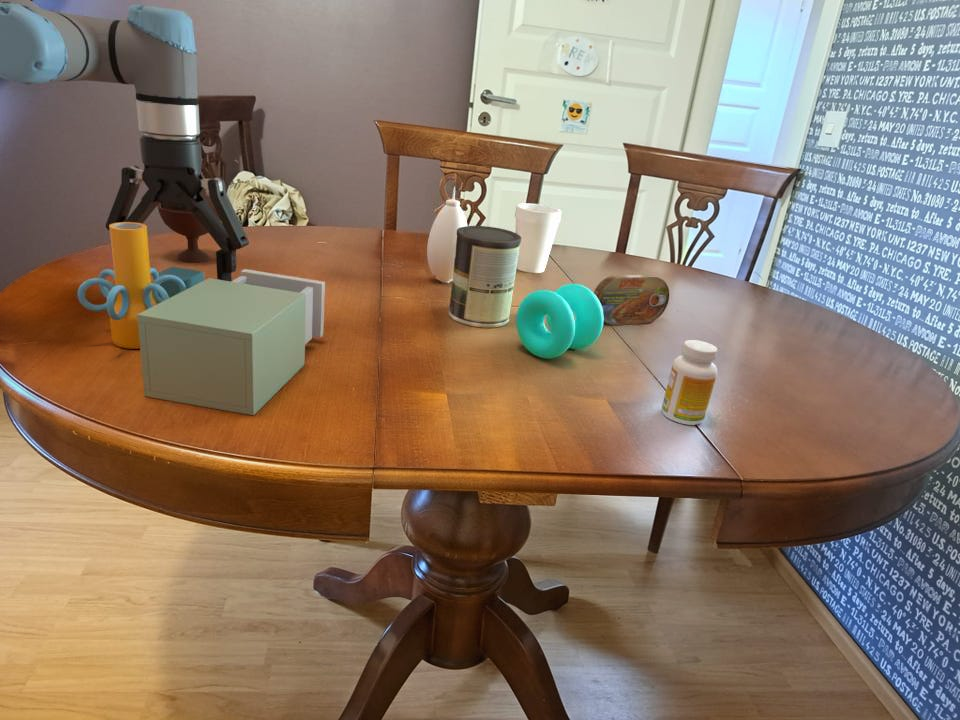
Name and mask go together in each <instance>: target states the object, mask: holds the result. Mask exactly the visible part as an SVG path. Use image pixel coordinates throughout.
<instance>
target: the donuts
mask: <svg viewBox="0 0 960 720" xmlns="http://www.w3.org/2000/svg"><path fill="white" fill-rule="evenodd" d="M545 320H546V324H545ZM604 323H605V322H604V316H603V309H602V306H601V304H600V301H599V300H598V298H597V297H596V295H595V294H594V291H592V290H591V289H589V288H588V287H587V286H585V285H582V284H579V283H567V284H563V285H561V286H559V287H558V288H557V289H555V290H554V291H553V290H548V289H538V290H534V291H532V292H530V293H529V294H527V295H526V296H525V297H524V298H523V299H522V301H521V302H520V304H519V306H518V308H517V311H516V315H515V324H516V331H517V334H518V337H519V340H520V341H521V343H522V345H523V346H524V347H525V349H526V350H527V351H528V352H529V353H531V354H532V355H534V356H536V357H537V358H540V359H547V360H548V359H549V360H550V359H554V358H558V357H560V356H562V355H563V354H564V353H566V352H567V350H569V349H571V350H582V349H586V348H589V347H590V346H592V345H593V344H594V343H595V342H597V340H598V339H599V337H600V335H601V333H602V330H603V327H604ZM546 325H547V327H546Z"/></svg>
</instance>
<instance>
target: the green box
mask: <svg viewBox="0 0 960 720" xmlns="http://www.w3.org/2000/svg"><path fill="white" fill-rule="evenodd" d="M305 316H306V294H305V293H298V292H292V291H286V290H280V289H274V288H267V287H261V286H255V285H249V284H243V283H236V282H230V281H224V280H218V279H217V278H212V277H209V278H206V279H204V281H202V282H200V283H198V284H196V285H194V286H192V287H190V288H188V289H186V290H185V291H183V292H181V293H179V294H177V295H175V296H173V297H171V298H169V299H167V300H165V301H163V302H161V303H159V304H157V305H155V306H153V307H151V308H149V309H147V310H145V311H143V312H141V313H139V314H137V318H138V321H139V322H138V328H139V339H140V348H139V349H140V358H141V360H140V361H141V370H142V371H141V372H142V380H143V381H142V383H143V396H144V397H146V398H153V399H157V400H164V401H168V402H174V403H182V404H185V405H191V406H192V405H193V406H198V407H204V408H208V409H215V410H220V411H226V412H231V413H237V414H243V415H248V416H255V415H256V414H257V413H258V412H259V411H260V410H261V409H262V408H263V407H264V406H265V405H266V404H267V403H268V402H269V401H270V400H271V399H272V398H273V397H274V396H275V395H276V394H277V393H278V392H279V391H280V390H281V389H282V388H283V387H284V386H285V385H286V384H287V383H288V382H289V381H290V380H291V379H292V378H293V377H294V376H295V375H296V374H297V373H298V372H299V371H300V370H301V369H302V368H303V367H304V366H305V364H306V362H305V361H306V360H305V359H306V345H305Z"/></svg>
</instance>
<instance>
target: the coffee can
mask: <svg viewBox="0 0 960 720" xmlns="http://www.w3.org/2000/svg"><path fill="white" fill-rule="evenodd" d="M521 239H522V238H521V236H520V235H518V234H516V232H514V231H511V230H508V229H505V228H501V227H494V226H485V225H467V226H464V227H460V228H458V229H457V241H456V251H455V260H454V270H453V280H452V281H451V290H450V298H449V309H448V316H449V318H451V319H452V320H454V321H455V322H456V323H460V324H461V325H465V326H470V327H473V328H474V327H475V328H486V329H489V328H500V327H503V326H505V325H507V324H508V323H509V322H510V315H511V314H510V313H511V307H512V300H513V294H514V288H515V287H514V286H515V281H516V272H517V268H516V267H517V260H518V253H519V246H520V243H521Z"/></svg>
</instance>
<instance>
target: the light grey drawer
mask: <svg viewBox="0 0 960 720" xmlns="http://www.w3.org/2000/svg"><path fill="white" fill-rule="evenodd" d="M231 282H236V283H243V284H249V285H255V286H261V287H267V288H274V289H280V290H286V291H292V292H298V293H305V294H306V316H305V346H306V345H307V344H308V343H309V342H310V341H312V339H313V338H318V339H321V338H322V337H323V336H324V329H325V298H326V297H325V296H326V295H325V292H326V282H325V281H323V280H317V279H310V278H305V277H303V278H302V277H297V276H291V275H285V274H279V273H273V272H267V271H260V270H254V269H247V268H244V269H242V270H240V276H238V277H237V278H235V279H232V281H231Z"/></svg>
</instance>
